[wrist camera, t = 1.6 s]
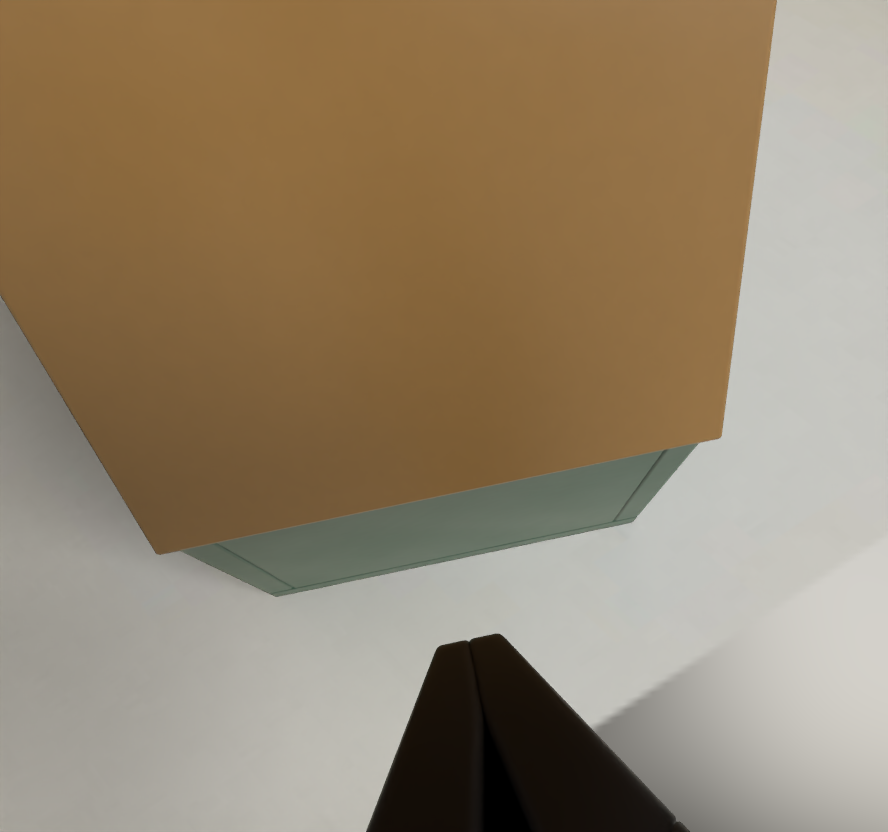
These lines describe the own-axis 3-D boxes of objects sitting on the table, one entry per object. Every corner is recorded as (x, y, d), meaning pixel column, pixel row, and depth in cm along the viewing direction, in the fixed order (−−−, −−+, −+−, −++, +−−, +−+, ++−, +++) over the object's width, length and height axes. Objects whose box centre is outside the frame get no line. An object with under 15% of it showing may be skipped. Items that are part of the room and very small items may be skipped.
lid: (-504, -632, 6) (-596, -687, 5) (841, -854, 6) (900, -932, 6) (162, 527, 15) (156, 556, 14) (705, 415, 15) (723, 439, 15)
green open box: (235, 242, 28) (140, 66, 20) (531, 183, 28) (549, -12, 20) (275, 597, 23) (168, 546, 15) (633, 522, 23) (708, 434, 15)
